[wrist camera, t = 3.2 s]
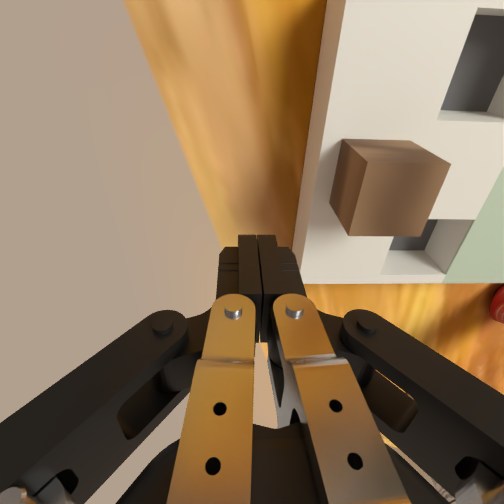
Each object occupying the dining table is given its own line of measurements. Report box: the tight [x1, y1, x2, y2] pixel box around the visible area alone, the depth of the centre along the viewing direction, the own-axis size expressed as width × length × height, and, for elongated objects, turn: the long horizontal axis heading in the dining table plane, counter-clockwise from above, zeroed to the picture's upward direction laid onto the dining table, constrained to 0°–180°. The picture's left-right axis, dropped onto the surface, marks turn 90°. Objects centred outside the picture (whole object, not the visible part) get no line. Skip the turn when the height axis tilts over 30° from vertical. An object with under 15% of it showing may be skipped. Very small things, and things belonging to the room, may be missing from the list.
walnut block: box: [329, 139, 451, 237], centre depth 19 cm, size 4×4×4 cm
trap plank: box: [292, 0, 504, 284], centre depth 23 cm, size 20×20×4 cm
